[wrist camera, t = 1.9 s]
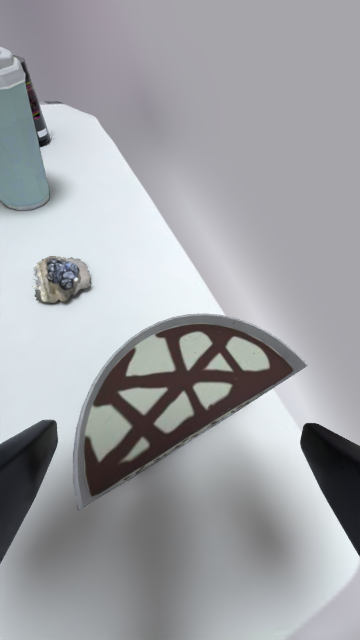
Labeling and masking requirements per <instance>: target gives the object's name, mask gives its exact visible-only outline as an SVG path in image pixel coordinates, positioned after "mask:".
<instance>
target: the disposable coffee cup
mask: <svg viewBox="0 0 360 640" xmlns="http://www.w3.org/2000/svg"><path fill="white" fill-rule="evenodd" d="M0 200H1V201H2V202H3V203H4V204H5V205H6V206H8V207H9V208H12V209H17V210H30V209H35V208H37V207H40V206H42V205H44V204H45V203H46V202H47V201H48V200H49V187H48V182H47V178H46V174H45V169H44V165H43V160H42V156H41V151H40V147H39V143H38V138H37V134H36V129H35V125H34V120H33V116H32V112H31V107H30V103H29V98H28V94H27V89H26V85H25V72H24V71H23V68H22V66H21V63H20V61H19V60H18V59H17V58H15V57H13V55H12V52H10V51H8V50H6V49H4V48H2V47H0Z"/></svg>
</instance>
